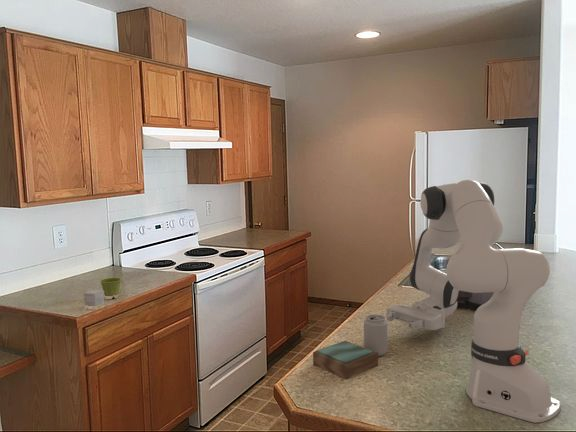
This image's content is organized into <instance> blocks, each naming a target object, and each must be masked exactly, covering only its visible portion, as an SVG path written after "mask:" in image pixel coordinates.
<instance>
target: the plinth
mask: <svg viewBox="0 0 576 432" xmlns="http://www.w3.org/2000/svg"><path fill="white" fill-rule="evenodd" d="M312 357H313V358H312V359H313V361H312V362H313V363H312V364H313V366H316V367H318V368H319V369H320V368H321V369H323V370H324V371H327V372H330V373H331V374H333V375H336V376H338V377H340V378H343V379H345V380H347V379H350V378H352V377H354V376H357V375H359V374H361V373H365V372H367V371H368V370H370V369H373V368H375V367H378V366H379V356H378V353H377V352H375V351H372V350H369V349H366V348H364V346H360V345H359V344H358V345H357V344H355V343H352V342H350V341H347V340H343V341H341V342H340V341H339V342H338V343H335V344H332V345H328V346H326V347H324V348H320V349H317V350H316V351H313V352H312Z"/></svg>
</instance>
